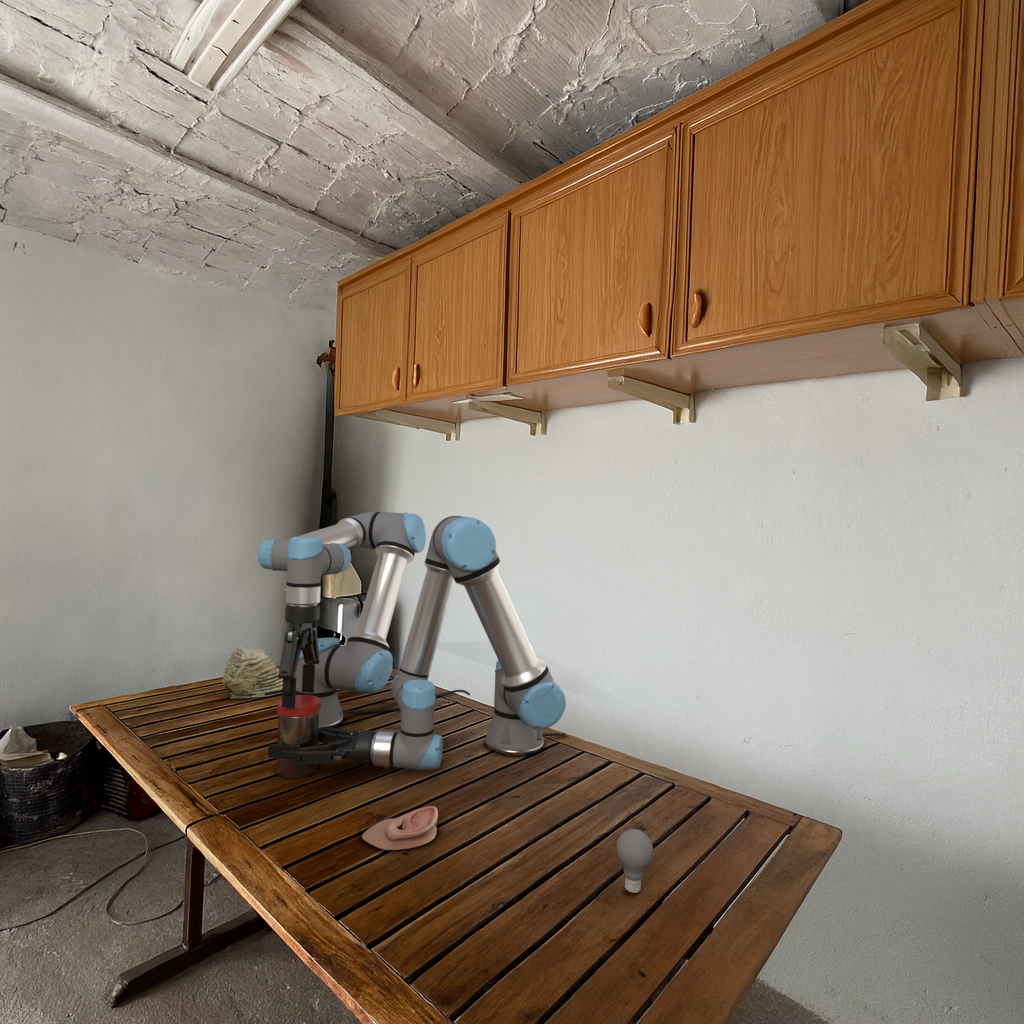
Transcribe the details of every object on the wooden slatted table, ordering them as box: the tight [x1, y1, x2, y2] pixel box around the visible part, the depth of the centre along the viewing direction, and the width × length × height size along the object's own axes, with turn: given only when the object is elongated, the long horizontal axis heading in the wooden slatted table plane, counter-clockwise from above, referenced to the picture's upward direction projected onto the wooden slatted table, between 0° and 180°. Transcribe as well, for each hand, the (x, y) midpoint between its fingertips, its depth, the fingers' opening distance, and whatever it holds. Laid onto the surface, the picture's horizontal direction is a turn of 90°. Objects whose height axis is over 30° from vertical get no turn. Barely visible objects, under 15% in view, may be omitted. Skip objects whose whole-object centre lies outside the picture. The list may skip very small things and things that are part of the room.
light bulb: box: [615, 828, 654, 894], centre depth 106 cm, size 6×6×10 cm
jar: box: [275, 711, 319, 779], centre depth 146 cm, size 9×9×16 cm
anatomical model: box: [361, 805, 439, 851], centre depth 120 cm, size 13×4×12 cm
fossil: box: [222, 646, 283, 699], centre depth 198 cm, size 9×18×15 cm, turn 132°
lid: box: [276, 695, 321, 717], centre depth 146 cm, size 10×10×2 cm
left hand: (298, 699), depth 146 cm, fingers open, 11 cm apart
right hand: (278, 742), depth 146 cm, fingers closed on jar, 9 cm apart
